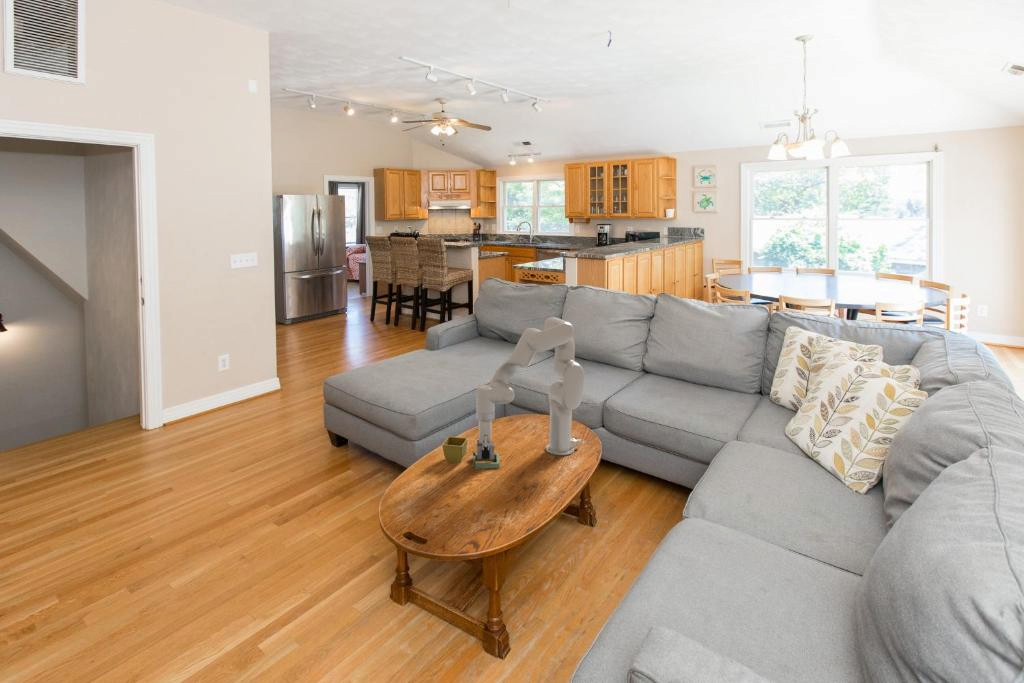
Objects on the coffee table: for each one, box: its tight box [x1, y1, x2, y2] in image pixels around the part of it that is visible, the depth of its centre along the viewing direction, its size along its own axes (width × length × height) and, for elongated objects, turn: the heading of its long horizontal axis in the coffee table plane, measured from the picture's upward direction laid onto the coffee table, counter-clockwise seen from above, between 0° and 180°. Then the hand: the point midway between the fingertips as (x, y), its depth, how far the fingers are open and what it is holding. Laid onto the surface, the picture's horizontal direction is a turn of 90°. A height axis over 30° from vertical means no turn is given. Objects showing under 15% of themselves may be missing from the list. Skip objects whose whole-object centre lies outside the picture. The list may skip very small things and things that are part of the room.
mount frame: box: [472, 451, 501, 470], centre depth 241 cm, size 11×10×3 cm
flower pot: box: [442, 436, 468, 464], centre depth 242 cm, size 9×9×9 cm
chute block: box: [476, 439, 495, 461], centre depth 240 cm, size 7×5×7 cm
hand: (485, 455), depth 240 cm, fingers closed on chute block, 5 cm apart
